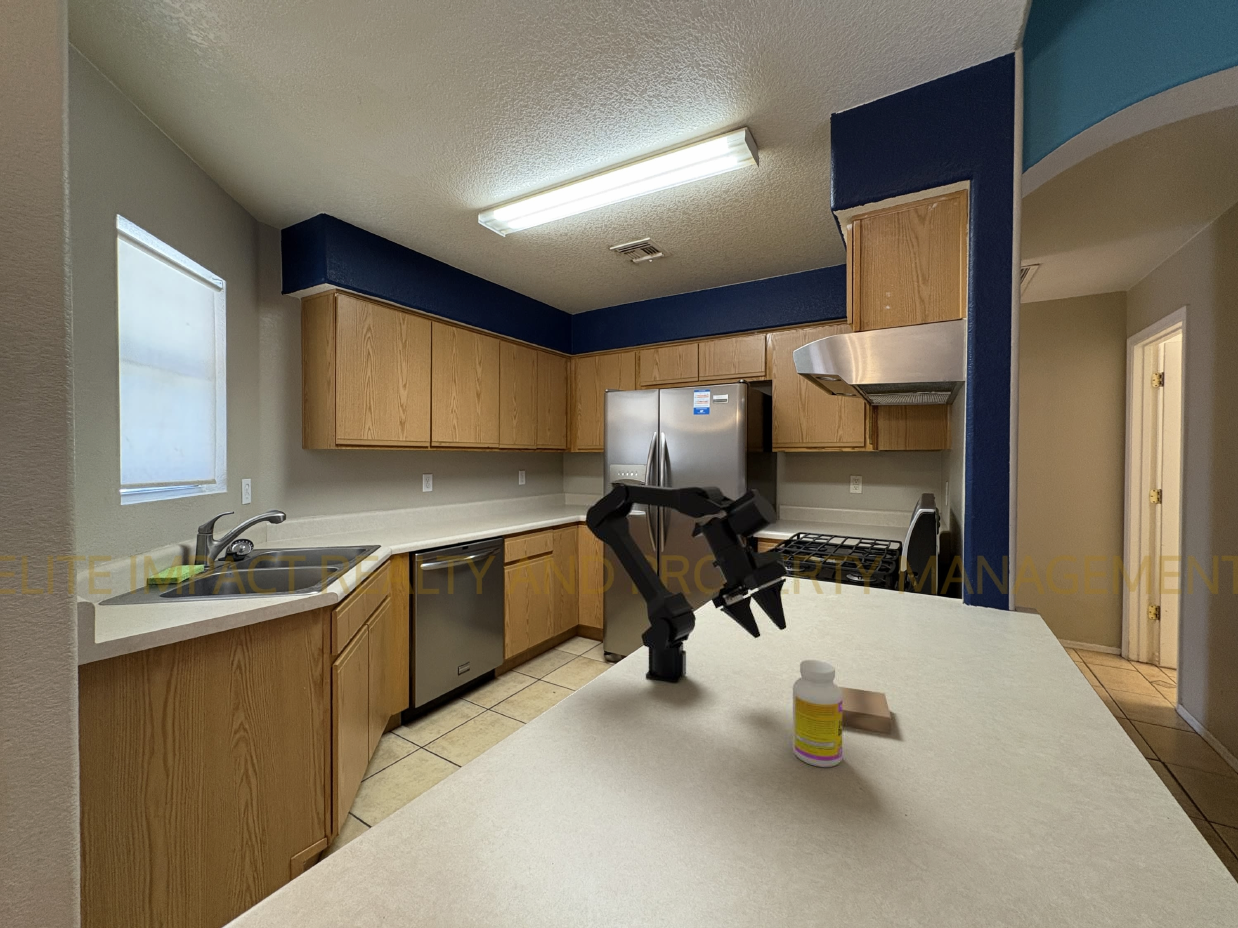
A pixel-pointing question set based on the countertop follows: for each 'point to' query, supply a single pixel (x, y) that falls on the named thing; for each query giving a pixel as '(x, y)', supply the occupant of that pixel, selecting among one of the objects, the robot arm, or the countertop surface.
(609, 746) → the countertop surface
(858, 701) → the walnut block
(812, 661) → the supplement bottle
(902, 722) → the countertop surface
